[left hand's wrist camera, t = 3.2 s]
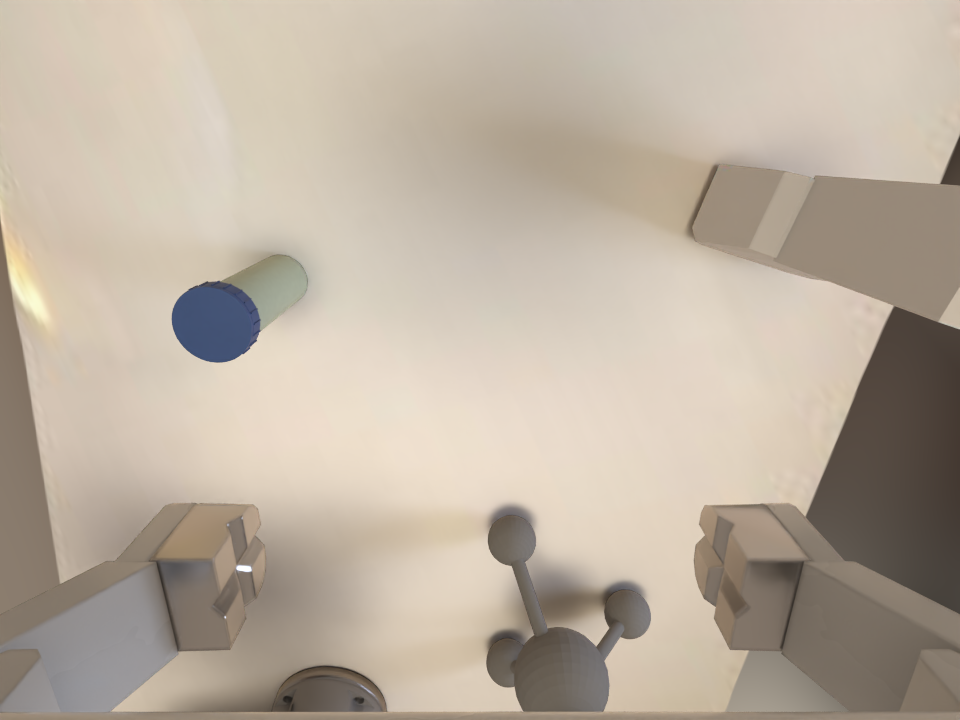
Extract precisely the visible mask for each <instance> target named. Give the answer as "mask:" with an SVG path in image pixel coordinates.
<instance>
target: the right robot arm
mask: <svg viewBox="0 0 960 720" xmlns="http://www.w3.org/2000/svg"><path fill="white" fill-rule="evenodd" d="M272 712H386V704H385V701H384V698H383V696H382V694H381V693H380V691H379V690H378V689H377V687H376V686H375V685H374V684H373V683H371V682H370V681H369V680H367V679H366V678H364V677H363V676H361V675H359V674H357V673H354V672H352V671H349V670H345V669H340V668H334V667H318V668H312V669H307V670H304V671H301V672H299V673H297V674H295V675H293V676H292V677H290V678H289V679H288V680H286V681H285V682H284V683H283V685H282V686H281V687H280V689H279V691H278V693H277V696H276V699H275V701H274V704H273V707H272Z"/></svg>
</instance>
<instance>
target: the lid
mask: <svg viewBox="0 0 960 720" xmlns="http://www.w3.org/2000/svg"><path fill="white" fill-rule="evenodd" d="M251 299H252V298H250V297H249V296H248V295H247V294H246V293H245V292H243V290H242V289H239V288H237V287H235V286H233V285H232V284H231V283H230V284H228V283H224V282H220V281H217V282H208V281H207V282H205V283H203V284H201V285H199V286H198V285H197V286H195V287H193V288H190V289H189V291H187V292H185V293H184V294H183V295H182V296H181V297H180V298H179V299H178V300H177V302H176V304H175V305H174V308H173V312H172V325H173V330H174V332H175V335H176V337H177V339H178V340H179V342H180V343H181V344H182V345H183V347H184V348H185V349H186V350H187V351H189V352H190V353H191V354H193V355H194V356H196V357H198V358H200V359H202V360H205V361H209V362H227V361H231V360H233V359H235V358H237V357H239V356H240V355H241V354H244V353H245V352H247V351H248V350H249V349H250V347H251V346H252V345H253V344H254V343H255V342H256V341H257V340H256V339H257V337H258V335H259V332H260V331H261V330H260V321H261V319H260V317H259V313H258V308H256V306H255V304H254V302H253V301H252V300H251Z"/></svg>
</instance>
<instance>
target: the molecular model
mask: <svg viewBox="0 0 960 720" xmlns="http://www.w3.org/2000/svg"><path fill="white" fill-rule="evenodd" d="M488 545H489V549H490V551H491V553H492V555H493V556H494V558H495V559H497V560H498V561H499V562H501V563H502V564H505V565H510V566H512V568H513V571H514V574H515V577H516V580H517V583H518V586H519V589H520V592H521V595H522V598H523V601H524V604H525V607H526V610H527V613H528V616H529V619H530V623H531V626H532V629H533V632H534V636H533V637H531V638H530V639H529V640H528V641H527V642H526V643H525V645H524V646H523V645H522V644H521V643H520V642H518V641H516V640H514V639H510V638H505V639H501V640H499V641H497V642H496V643H494V644H493V645H492V647H491V648H490V650H489V652H488V655H487V661H486V664H487V670H488V673H489V675H490V677H491V678H492V679H493V681H494V682H496V683H497V684H498V685H500V686H503V687H514V686H515V691H516V696H517V699H518V701H519V703H520V706H521V708H522V710H523V711H524V712H603V711H604V709H605V706H606V703H607V701H608V694H609V678H608V670H607V667H606V665H605V662H604V660H605V659H606V657H607V656H608V654H609V653H610V651H611V650H612V648H613V647H614V645H615V644H616V642H617V641H618V639H619V638H620V637H622V638H625V639H635V638H638V637H640V636H642V635H643V634H644V633H645V632H646V631H647V629H648V627H649V625H650V621H651V613H650V609H649V606H648V604H647V602H646V601H645V599H644V598H643V597H642V596H641V595H639V594H638V593H636V592H634V591H631V590H620V591H617V592H615V593H613V594H612V595H611V596H610V597H609V598H608V600H607V602H606V604H605V610H604V613H605V619H606V622H607V624H608V626H609V630H608V631H607V633H606V634H605V635H604V637H603V638H602V640H601V641H600V643H599V644H598V645H597V647H596V646H595V645H594V644H593V643H592V642H591V641H590V640H589V639H587V638H586V637H585V636H584V635H582V634H580V633H579V632H576V631H574V630H571V629H568V628H563V627H555V628H549V629H547V626H546V623H545V620H544V617H543V614H542V611H541V608H540V605H539V603H538V600H537V597H536V594H535V591H534V588H533V585H532V582H531V579H530V576H529V573H528V570H527V567H526V564H525V562H526V561H527V560H528V559H529V558H530V557H531V555H532V554H533V552H534V549H535V546H536V537H535V533H534V530H533V528H532V527H531V525H530V524H529V523H528V522H527V521H526V520H525V519H523V518H521V517H519V516H514V515H509V516H504V517H502V518H500V519H498V520H497V521H496V522H495V523H494V524H493V525H492V527H491V529H490V531H489V534H488Z"/></svg>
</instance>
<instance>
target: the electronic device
mask: <svg viewBox="0 0 960 720" xmlns="http://www.w3.org/2000/svg"><path fill="white" fill-rule="evenodd" d="M692 229H693V234H694V238H695V241H696V242H698V243H700V244H702V245H705V246H708V247H711V248H714V249H717V250H720V251H723V252H726V253H729V254H732V255H736V256H739V257H742V258H745V259H748V260H751V261H754V262H757V263H760V264H763V265H766V266H769V267H772V268H775V269H778V270H781V271H784V272H788V273H792V274H795V275H799V276H803V277H807V278H810V279H817V280H823V281H829V282H832V283H835V284H837V285H840V286H843V287H845V288H848V289H851V290H853V291H856V292H859V293H862V294H864V295H867V296H870V297H872V298H875V299H878V300H880V301H883V302H886V303H888V304H891V305H894V306H897V307H899V308H902V309H905V310H907V311H910V312H913V313H916V314H918V315H921V316H924V317H926V318H929V319H932V320H934V321H937V322H940V323H943V324H946V325H949V326H952V327H955V328H958V329H960V186H956V185H942V184H927V183H913V182H899V181H885V180H871V179H856V178H842V177H828V176H815V177H814V179H813V178H811V177H807V176H803V175H799V174H795V173H791V172H787V171H780V170H770V169H761V168H751V167H742V166H732V165H723V164H719V166H718V168H717V171H716V173H715V175H714V178H713V180H712V182H711V185H710V187H709V189H708V192H707V194H706V196H705V198H704V201H703V203H702V205H701V208H700V210H699V212H698V215H697V217H696V219H695V222H694V224H693V226H692Z"/></svg>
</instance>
